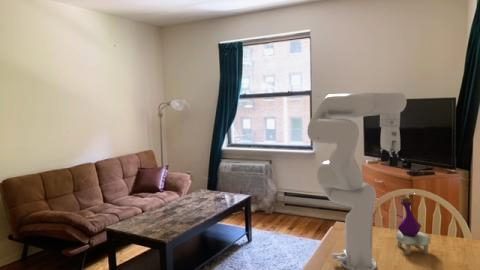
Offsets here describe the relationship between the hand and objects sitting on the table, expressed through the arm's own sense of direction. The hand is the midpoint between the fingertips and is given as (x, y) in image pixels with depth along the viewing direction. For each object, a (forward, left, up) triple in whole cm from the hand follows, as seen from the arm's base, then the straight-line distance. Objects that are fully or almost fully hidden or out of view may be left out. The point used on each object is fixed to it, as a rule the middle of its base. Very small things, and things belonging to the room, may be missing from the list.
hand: (388, 163), depth 143 cm
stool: (+6, -9, -34) cm, 36 cm away
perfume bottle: (+6, -8, -28) cm, 30 cm away
